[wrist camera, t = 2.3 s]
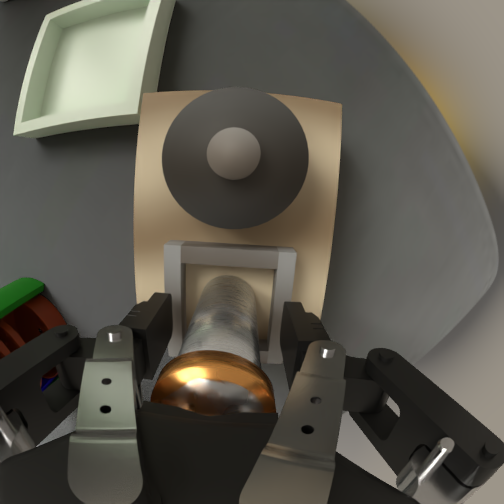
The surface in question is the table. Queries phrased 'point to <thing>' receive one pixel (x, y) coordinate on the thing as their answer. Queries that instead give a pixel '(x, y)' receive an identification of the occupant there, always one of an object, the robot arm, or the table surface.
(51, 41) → the tray
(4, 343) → the motor
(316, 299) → the pulley block
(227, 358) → the pin
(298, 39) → the table surface
